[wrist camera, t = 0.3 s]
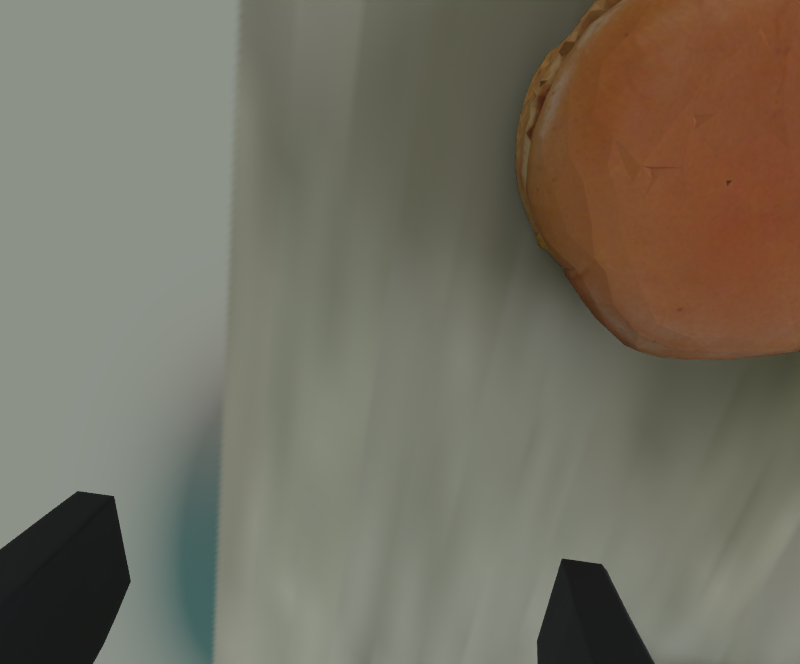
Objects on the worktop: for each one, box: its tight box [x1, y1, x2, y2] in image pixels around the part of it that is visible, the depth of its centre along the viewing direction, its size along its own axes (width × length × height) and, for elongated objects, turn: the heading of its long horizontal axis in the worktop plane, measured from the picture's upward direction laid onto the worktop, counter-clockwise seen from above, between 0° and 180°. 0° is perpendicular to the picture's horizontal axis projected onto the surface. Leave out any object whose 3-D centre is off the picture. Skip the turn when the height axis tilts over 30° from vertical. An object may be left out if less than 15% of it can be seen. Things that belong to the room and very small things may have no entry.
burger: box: [516, 0, 800, 360], centre depth 15 cm, size 10×9×5 cm
